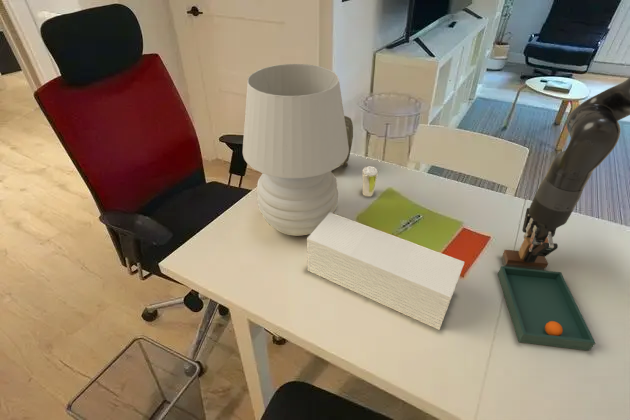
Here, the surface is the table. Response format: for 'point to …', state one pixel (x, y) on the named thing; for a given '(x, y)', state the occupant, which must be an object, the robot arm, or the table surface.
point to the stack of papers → (384, 268)
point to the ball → (553, 328)
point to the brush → (517, 258)
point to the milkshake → (369, 180)
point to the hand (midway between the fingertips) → (526, 256)
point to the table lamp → (295, 143)
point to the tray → (543, 308)
